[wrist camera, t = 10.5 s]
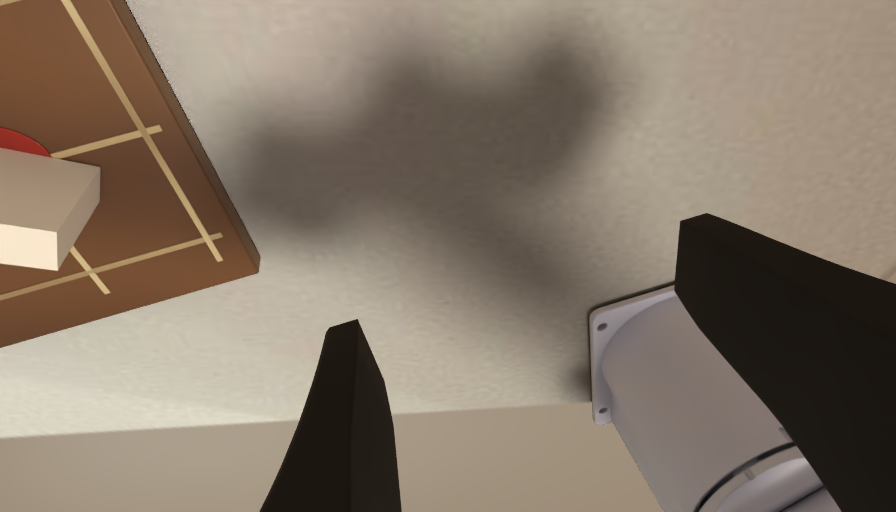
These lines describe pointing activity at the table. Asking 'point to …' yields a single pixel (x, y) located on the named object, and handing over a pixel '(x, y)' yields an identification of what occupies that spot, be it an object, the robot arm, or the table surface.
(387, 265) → the table surface
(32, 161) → the eraser
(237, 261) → the board
